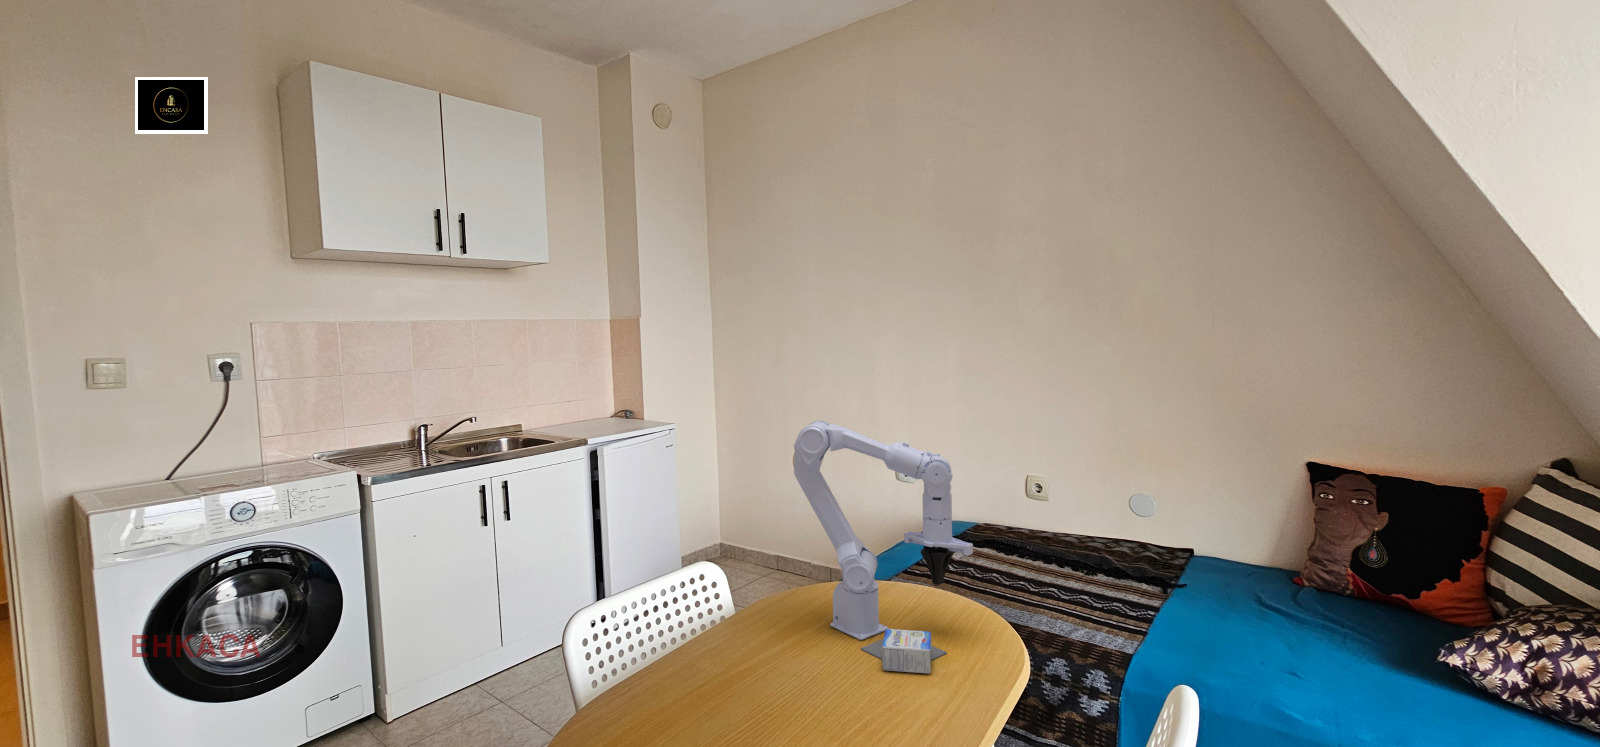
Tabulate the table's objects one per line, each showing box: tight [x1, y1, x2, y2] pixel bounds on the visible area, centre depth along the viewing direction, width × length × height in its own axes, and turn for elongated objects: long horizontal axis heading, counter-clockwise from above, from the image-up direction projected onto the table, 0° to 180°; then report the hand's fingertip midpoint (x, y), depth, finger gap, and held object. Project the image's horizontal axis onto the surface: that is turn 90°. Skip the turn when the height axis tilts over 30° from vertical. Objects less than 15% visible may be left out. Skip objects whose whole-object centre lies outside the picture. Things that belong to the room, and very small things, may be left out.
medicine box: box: [881, 628, 932, 674], centre depth 124 cm, size 8×4×9 cm
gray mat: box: [860, 638, 948, 662], centre depth 129 cm, size 12×11×1 cm
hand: (938, 583), depth 136 cm, fingers closed
